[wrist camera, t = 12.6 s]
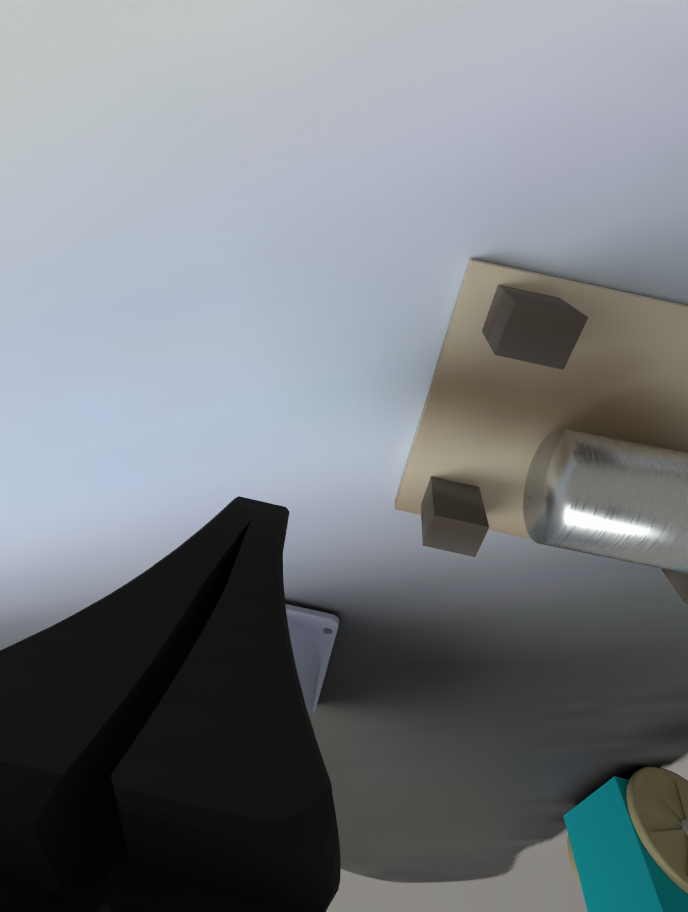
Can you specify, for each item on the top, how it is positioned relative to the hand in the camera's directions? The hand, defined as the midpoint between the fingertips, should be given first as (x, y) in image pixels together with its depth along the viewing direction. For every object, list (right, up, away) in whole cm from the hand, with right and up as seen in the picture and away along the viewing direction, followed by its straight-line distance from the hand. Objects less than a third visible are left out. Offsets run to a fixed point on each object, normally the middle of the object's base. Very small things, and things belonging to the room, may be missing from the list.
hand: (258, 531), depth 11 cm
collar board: (+12, +3, +5) cm, 14 cm away
